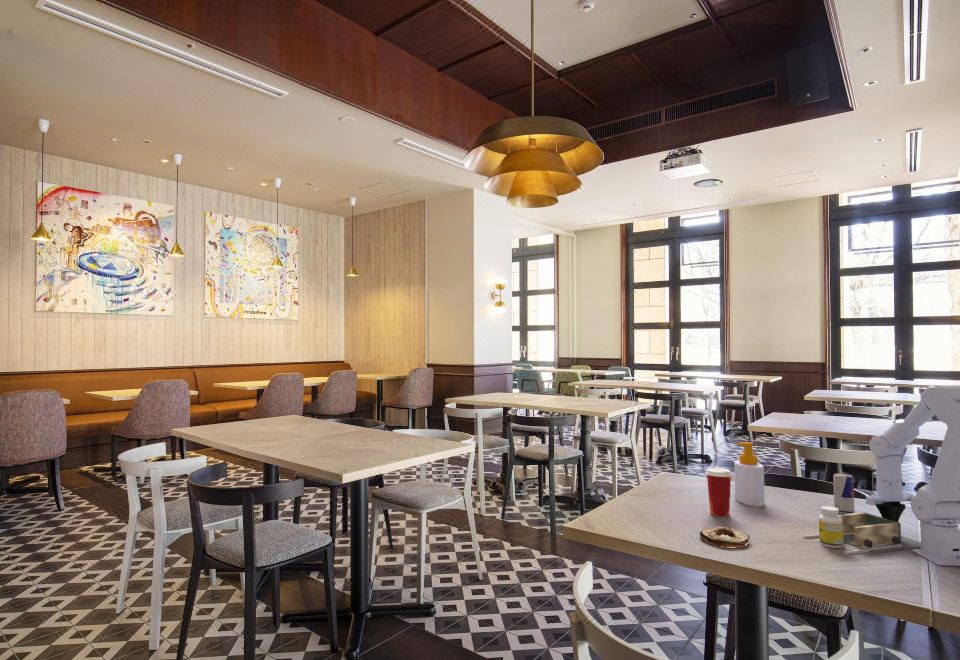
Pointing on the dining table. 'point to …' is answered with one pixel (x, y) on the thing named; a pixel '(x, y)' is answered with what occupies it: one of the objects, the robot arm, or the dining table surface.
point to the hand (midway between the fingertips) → (890, 529)
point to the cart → (871, 529)
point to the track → (875, 549)
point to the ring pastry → (725, 536)
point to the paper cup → (719, 490)
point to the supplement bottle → (830, 527)
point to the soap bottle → (749, 478)
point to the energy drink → (843, 493)
